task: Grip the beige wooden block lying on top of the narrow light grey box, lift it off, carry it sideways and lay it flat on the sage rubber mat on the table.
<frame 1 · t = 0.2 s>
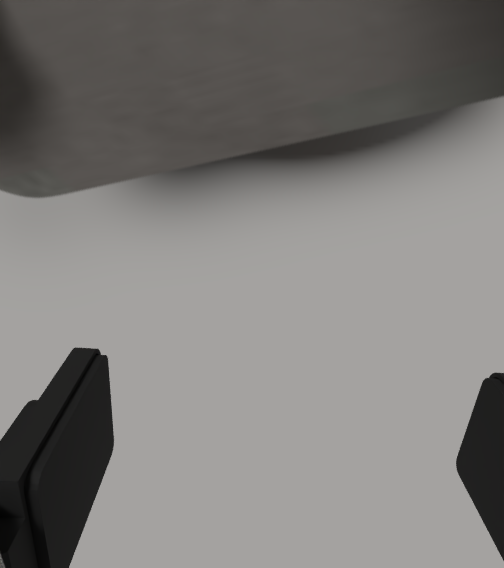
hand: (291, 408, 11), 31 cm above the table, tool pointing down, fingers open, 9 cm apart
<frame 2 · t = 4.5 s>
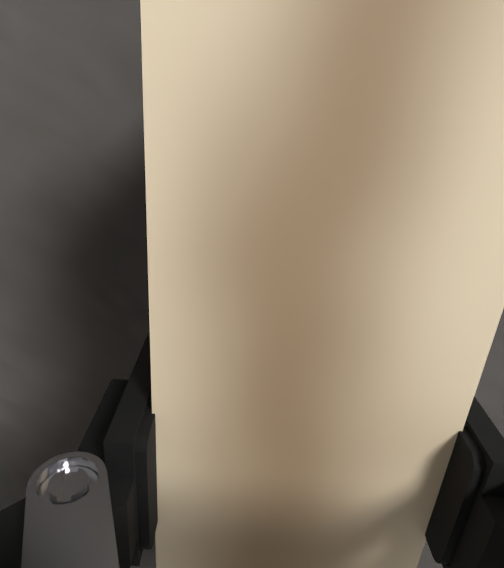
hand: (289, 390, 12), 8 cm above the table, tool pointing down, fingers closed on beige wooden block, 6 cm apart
beige wooden block: (289, 388, 12), point 8 cm above the table, touching box, gripper
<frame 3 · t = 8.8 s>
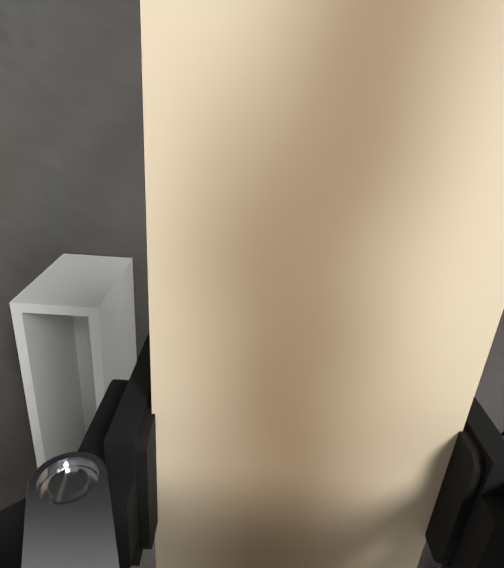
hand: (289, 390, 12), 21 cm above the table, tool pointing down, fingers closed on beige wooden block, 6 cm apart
beige wooden block: (289, 387, 12), point 21 cm above the table, touching gripper
box: (105, 359, 37), on the table
when the fingers open (2 cm above the table, at t = 13.1 s): beige wooden block drops 1 cm, resting on mat.
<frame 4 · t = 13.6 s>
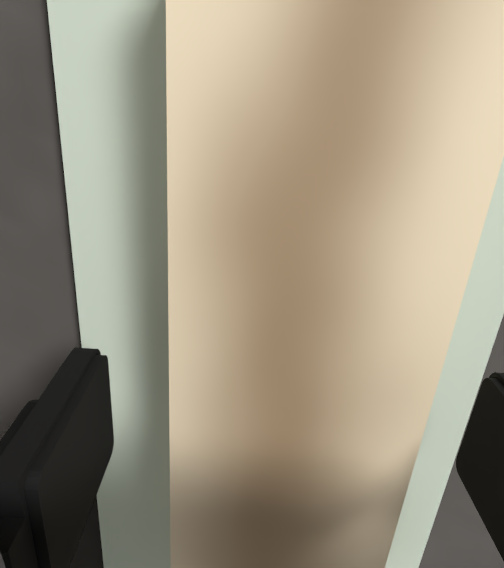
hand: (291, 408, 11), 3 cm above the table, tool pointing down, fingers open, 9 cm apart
beige wooden block: (288, 357, 13), resting on mat
mat: (284, 348, 14), on the table
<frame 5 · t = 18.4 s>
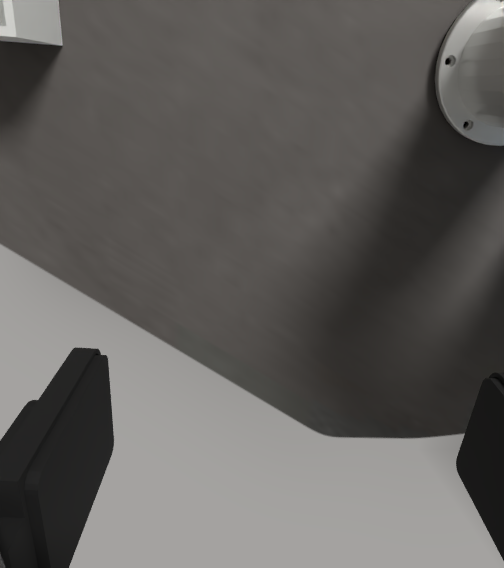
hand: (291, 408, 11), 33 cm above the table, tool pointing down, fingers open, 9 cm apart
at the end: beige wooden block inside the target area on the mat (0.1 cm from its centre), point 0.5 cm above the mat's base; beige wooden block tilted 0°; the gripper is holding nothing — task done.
